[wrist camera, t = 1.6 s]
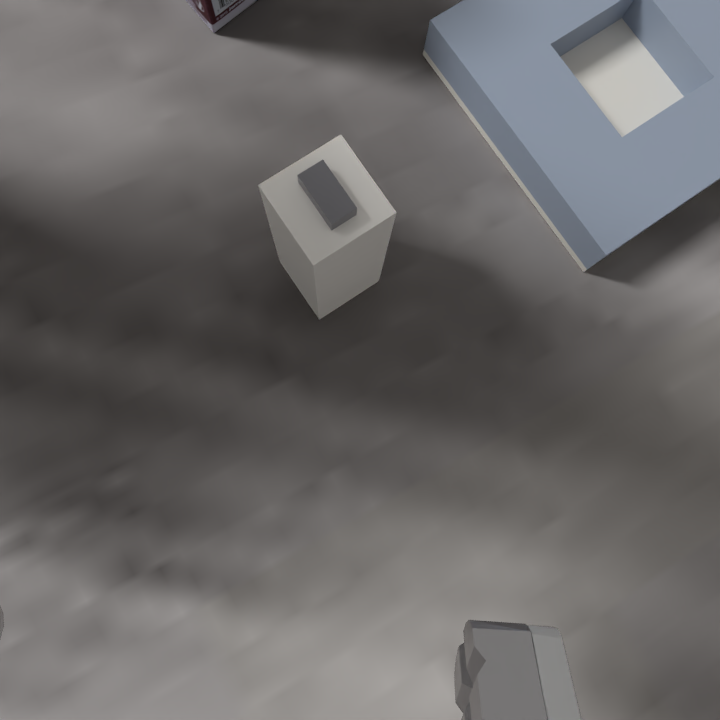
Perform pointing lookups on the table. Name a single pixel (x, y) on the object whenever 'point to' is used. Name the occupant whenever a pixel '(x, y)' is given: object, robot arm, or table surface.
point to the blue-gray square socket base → (590, 105)
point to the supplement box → (218, 11)
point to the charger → (328, 225)
